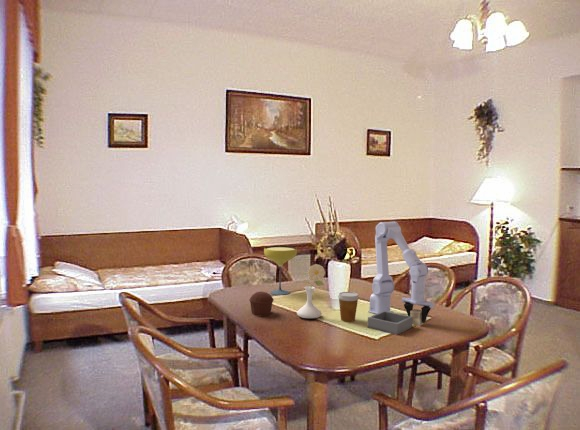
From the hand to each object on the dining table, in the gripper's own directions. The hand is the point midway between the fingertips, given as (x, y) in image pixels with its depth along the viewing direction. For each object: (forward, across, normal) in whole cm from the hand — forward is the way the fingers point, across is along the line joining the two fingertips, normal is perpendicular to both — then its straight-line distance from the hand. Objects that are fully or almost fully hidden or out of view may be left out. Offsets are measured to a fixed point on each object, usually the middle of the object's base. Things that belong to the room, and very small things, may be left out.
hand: (416, 320), depth 214 cm
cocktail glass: (+2, -82, +1) cm, 82 cm away
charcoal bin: (+1, -6, -12) cm, 14 cm away
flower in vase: (+2, -41, -24) cm, 48 cm away
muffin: (+2, -62, -35) cm, 71 cm away
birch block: (+2, 0, 0) cm, 2 cm away
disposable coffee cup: (+2, -26, -16) cm, 31 cm away
